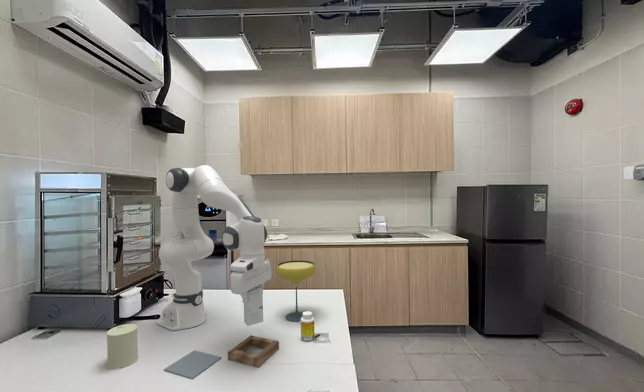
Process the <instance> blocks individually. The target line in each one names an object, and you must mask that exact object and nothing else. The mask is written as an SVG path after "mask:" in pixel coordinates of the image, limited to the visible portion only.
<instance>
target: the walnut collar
mask: <svg viewBox="0 0 644 392" xmlns="http://www.w3.org/2000/svg"><path fill="white" fill-rule="evenodd" d="M251 347H254V348H259V349H262V350H261V351H260V352H259V353H257V354H256V353H253V352H252V353H251V352H247V351H248V350H249V349H250V348H251ZM279 350H280V341H279V340H276V339H271V338H266V337H260V336H257V335H249V336H247V337H246V338H245V339H243V340H242V341H241V342H239V343H238V344H236V345H235V346H233V347H232V348H231V349H229V350H228V351H227V360H228V361H230V362H234V363H238V364H243V365H247V366H251V367H255V368H260V367H261V366H263V364H265V363H266V362H267V361H268V360H269V359H270V358H271V357H272V356H273V355H274V354H275V353H277V352H278V351H279Z"/></svg>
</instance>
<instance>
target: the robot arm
mask: <svg viewBox="0 0 644 392" xmlns="http://www.w3.org/2000/svg"><path fill="white" fill-rule="evenodd" d="M165 184H166V187H167V188H168V190H169V191H171V192H172V197H171V212H172V225H173V227H174V228H175V229H176V230H178V231H181V233H182V235H183V236H184V238H182V239H181V238H180V239H175V240H171V241H168V242H165V243H164V244H162V245H161V246H160V248H159V250H158V258H159V260H160V262H161V263H162V264H163V265H164V266H167V267H168V268H169V269H170V271H171V272H172V274H173V277H174V285H175V286H174V287H175V288H174V289H175V293H172V294H171V297H172V298H173V299H172V301H171V302H169V304H167V305H166V306H165V307H164V308H163V310H162V312H161V317H160V318H158V319H157V320H156V321H155V324H156V325H158V326H161V327H163V328H165V329H167V330H170V331H173V332H174V331H178V330H179V331H180V330H183V329H184V330H185V329H186V330H187V329H189V328H190V329H191V328H194V327H197V326H200V325H202V324H203V323H205V322H206V320H207V317H206V315H207V313H206V312H205V304H204V299H203V298H204V292H203V289H202V288H203V287H202V284H203V283H202V274H201V272H200V271H199V270H197V269H194V268H193V265H192V262H195V261H199V260H203V259H205V258H207V257H208V256H211V255H212V254H213V252H214V248H215V244H214V241H213V240H212V238H210V236H208V235H206V233H205V231H204V230H203V228H202V226H201V222H200V215H199V214H200V213H199V202H198V196H199V199H200V200H201V201H202V202H203V203H204V204H205V205H206V206H207V207H210V208H213V209H219V210H222V211H227V212H230V213H232V214H233V215H234V216H235V217H236V218H237V219H238V220H239V221H238V222H236V223H234V224H231V225H228V226H226V227H225V228H224V229H223V231H222V234H221V243H222V245H223V246H224V248H225V249H226V250H229V251H239V257H237V259H235V261H233V262H232V263H231V264H230V271H231V273H230V280H229V281H230V282H229V283H230V292H231V293H232V294H234V295H239V296H240V297H241V299H242V303H243V304H244V303H248V302H249V297H247V295H246V294H247V291H248V290H250V289H252V288H254V287H260V288H261V289H262V292H263V293H264V288H265V284H266V283H267V282H268V281H270V280H271V279H272V276H273V275H272V267H271V262H270V258H268V257H267V256H265V253H266V252H265V248H264V246H265V245H264V244H266V241H267V239H268V231H267V230H268V229H267V228H266V226H265V225H264V223H263V220H262V219H261V218H260V217H259V216H255V215H254V214H253V212H252V211H251V210H250V209H249V207H248V206H247V205H246V204H245V203H244V201H243V200H242V199H241V198H240V197H239V196H238V195H236V194H235V193H234V192H232V191H231V190H230V189H229V188H228V186H227V185H226V184H225V183H224V181H223V179H222V178H221V176H220V175H219V173H218V172H217V171H216V170H215V169H214V167H212V166H210V165H208V164H203V165H202V164H201V165H199V166H197V167H183V168H182V167H174V168H170V169H169V170H168V172H166V175H165Z"/></svg>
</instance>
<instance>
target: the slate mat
mask: <svg viewBox="0 0 644 392" xmlns="http://www.w3.org/2000/svg"><path fill="white" fill-rule="evenodd" d="M221 359H222V356H219V355H214V354H210V353H206V352H203V351H197V350H192V351H191V352H189V353H188V354H186V355H184V356H183V357H181V358H180V359H178V360H176V361H174V362H173V363H172V364H170V365H168V366H167V367H165V368H164V369H163V371H164V370H165V371H164V372H166V373H171V374H173V373H174V375H177V376H181V377H184V378H186V379H191V380H194V379H195V378H196V377H199V375H201V374H202V373H203V372H205V371H207V370H208V369H209V368H210V367H211V366H213V365H214V364H216V363H218V361H220V360H221Z"/></svg>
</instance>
